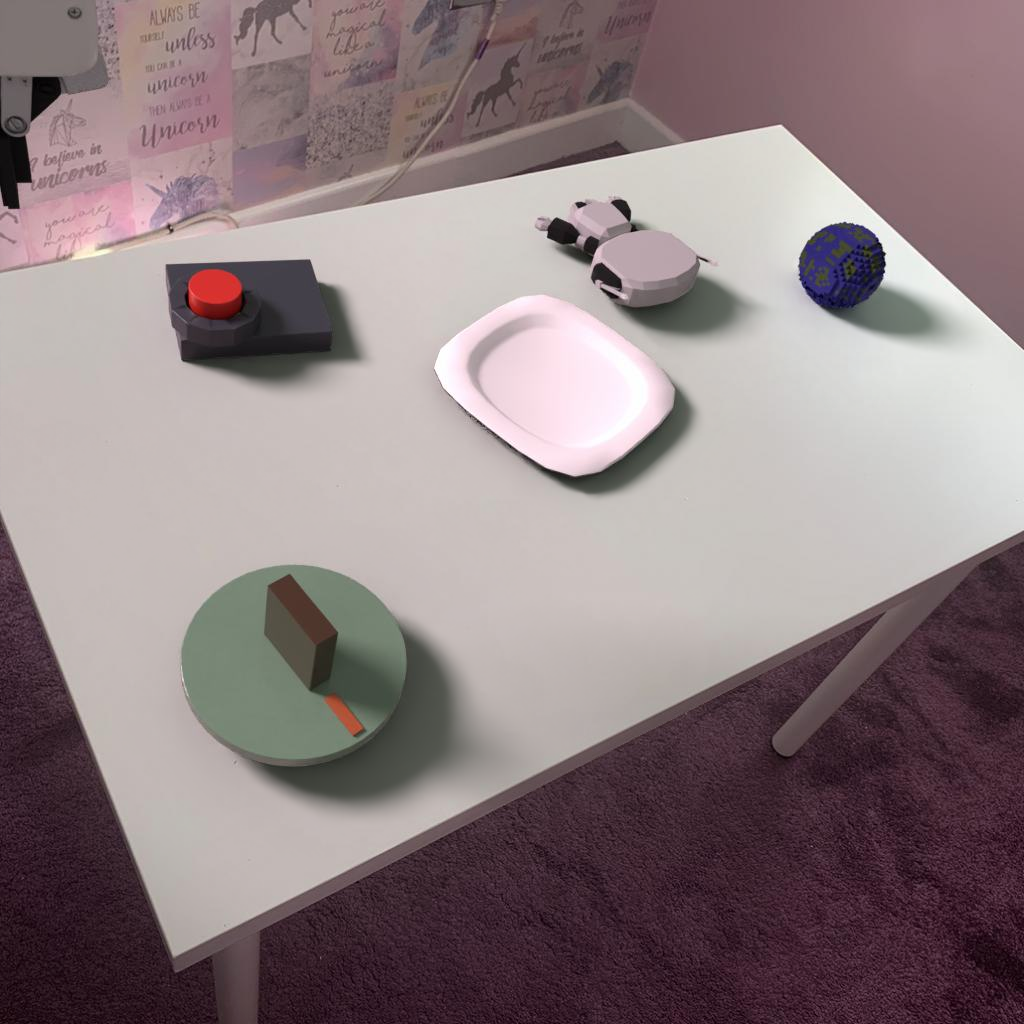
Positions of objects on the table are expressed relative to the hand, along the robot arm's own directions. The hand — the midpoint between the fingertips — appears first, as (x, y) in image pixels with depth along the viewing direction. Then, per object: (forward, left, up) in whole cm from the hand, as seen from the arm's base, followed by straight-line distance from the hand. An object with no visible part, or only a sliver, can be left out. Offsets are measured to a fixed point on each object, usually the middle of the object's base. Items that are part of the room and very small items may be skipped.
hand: (0, 191), depth 52 cm
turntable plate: (+13, -15, -25) cm, 32 cm away
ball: (+74, +18, -27) cm, 81 cm away
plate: (+40, +8, -27) cm, 49 cm away
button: (+13, +17, -23) cm, 32 cm away
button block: (+16, +19, -27) cm, 37 cm away
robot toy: (+52, +23, -27) cm, 63 cm away
